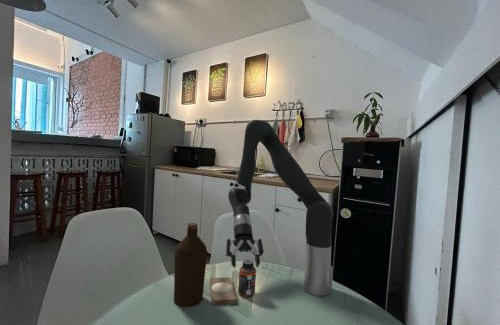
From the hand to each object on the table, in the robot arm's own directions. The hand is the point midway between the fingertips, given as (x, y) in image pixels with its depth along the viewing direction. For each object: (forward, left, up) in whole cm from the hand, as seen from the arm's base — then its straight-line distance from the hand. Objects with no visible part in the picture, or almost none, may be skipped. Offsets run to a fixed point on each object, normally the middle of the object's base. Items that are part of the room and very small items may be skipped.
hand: (246, 266), depth 90 cm
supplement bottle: (0, +3, -9) cm, 9 cm away
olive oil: (+20, +4, -9) cm, 22 cm away
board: (+8, +1, -8) cm, 12 cm away
